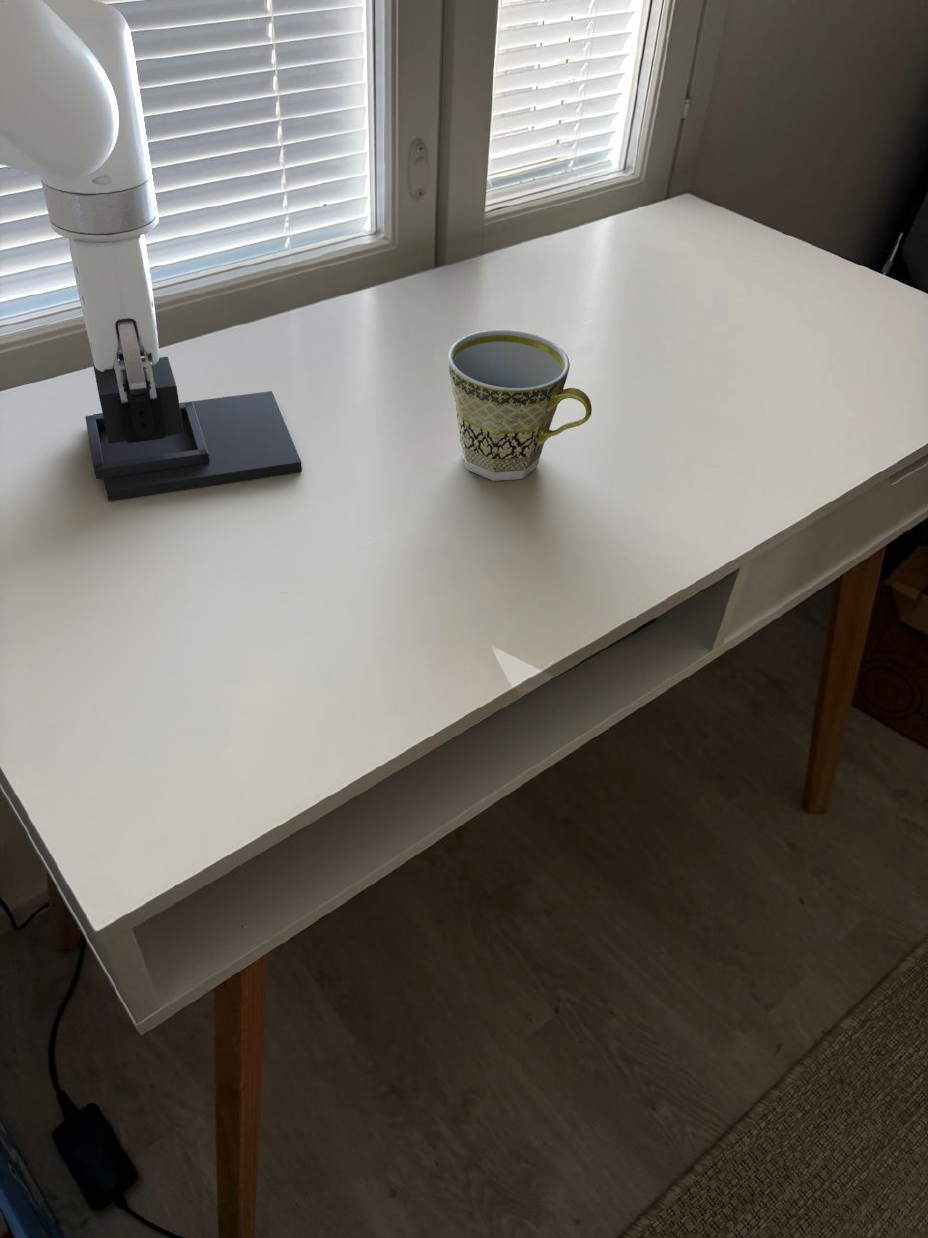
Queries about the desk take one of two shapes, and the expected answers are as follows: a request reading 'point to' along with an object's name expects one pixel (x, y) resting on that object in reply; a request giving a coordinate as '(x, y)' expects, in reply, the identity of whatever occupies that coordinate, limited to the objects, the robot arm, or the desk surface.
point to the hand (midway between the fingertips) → (141, 418)
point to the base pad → (198, 448)
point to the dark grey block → (162, 385)
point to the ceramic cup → (508, 399)
